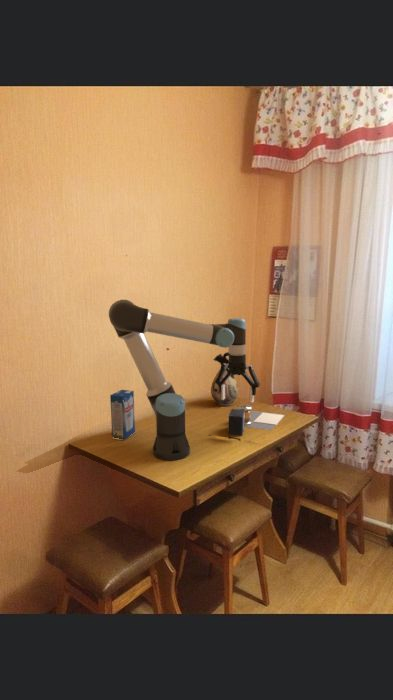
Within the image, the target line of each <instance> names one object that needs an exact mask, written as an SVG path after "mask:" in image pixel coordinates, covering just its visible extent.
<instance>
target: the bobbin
mask: <svg viewBox="0 0 393 700" xmlns="http://www.w3.org/2000/svg"><path fill="white" fill-rule="evenodd" d="M237 409H238V410H245V422H244V425H251V424H252V420H250V410H251V411H253V406H252V405H251V404H238V405H237Z"/></svg>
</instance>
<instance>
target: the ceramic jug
mask: <svg viewBox="0 0 393 700" xmlns="http://www.w3.org/2000/svg"><path fill="white" fill-rule="evenodd" d="M227 357H229V353H228V351H227V352H224V354H221V353H219V354H218V355H216V356H215V357H214V358H213V361H215V362H218V363H219V364H220V369H218V372H216V375H215V376H214V377H213V381H212V382H211V388H210V394H211V398H212V399H213V400H214V401H215V403H216V405H218V406H221V407H228V406H233V405H234V402H235V400H237V398H238V396H239V385H238V382H237V380H236V378H235V375H233V374H231V375H230V376H229V378H228V379H227V380H226V381H225V382H224V385H225V399H224V400H221V392H220V391H219V384H216V383H215V381H216V379H217V377H218V375H219V373H220V371H221V368H222V364H224V363H226V364H229V358H227ZM229 371H230V370H229V368H228V367H227V368H226V370H225V372H224V374H223V376H222V378H221V380H220V381H222V379H223V378H224V377H225V376H226V375H227V373H228V372H229Z"/></svg>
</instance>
